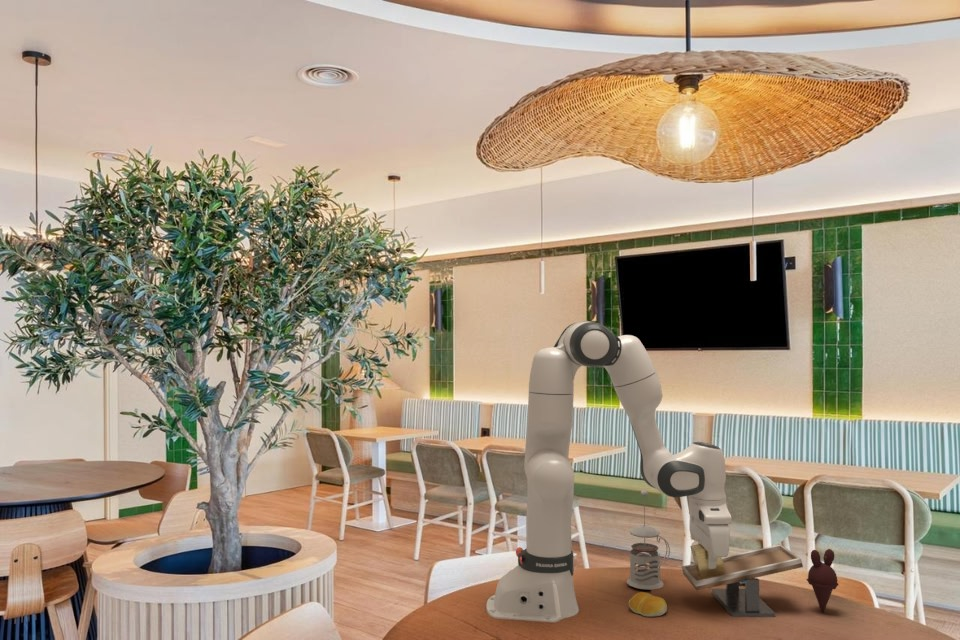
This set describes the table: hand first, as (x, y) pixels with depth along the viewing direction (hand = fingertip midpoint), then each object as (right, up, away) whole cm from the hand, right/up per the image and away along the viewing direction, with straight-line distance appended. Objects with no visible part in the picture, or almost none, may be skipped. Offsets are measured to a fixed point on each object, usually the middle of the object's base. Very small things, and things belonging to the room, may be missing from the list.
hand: (708, 564), depth 174 cm
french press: (-11, -11, +16) cm, 22 cm away
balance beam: (+8, -2, 0) cm, 9 cm away
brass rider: (+1, -2, 0) cm, 2 cm away
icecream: (+26, -10, -4) cm, 29 cm away
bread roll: (-13, -11, -5) cm, 17 cm away
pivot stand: (+8, -10, 0) cm, 13 cm away
